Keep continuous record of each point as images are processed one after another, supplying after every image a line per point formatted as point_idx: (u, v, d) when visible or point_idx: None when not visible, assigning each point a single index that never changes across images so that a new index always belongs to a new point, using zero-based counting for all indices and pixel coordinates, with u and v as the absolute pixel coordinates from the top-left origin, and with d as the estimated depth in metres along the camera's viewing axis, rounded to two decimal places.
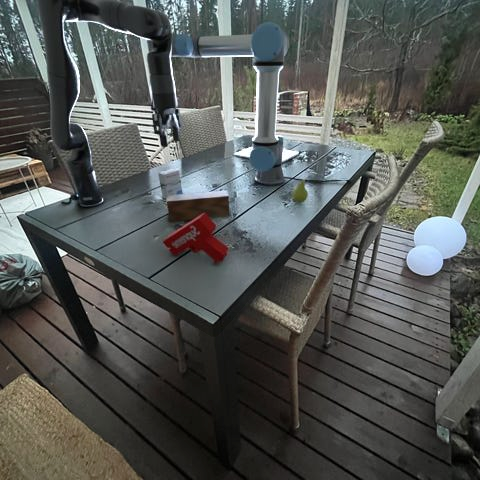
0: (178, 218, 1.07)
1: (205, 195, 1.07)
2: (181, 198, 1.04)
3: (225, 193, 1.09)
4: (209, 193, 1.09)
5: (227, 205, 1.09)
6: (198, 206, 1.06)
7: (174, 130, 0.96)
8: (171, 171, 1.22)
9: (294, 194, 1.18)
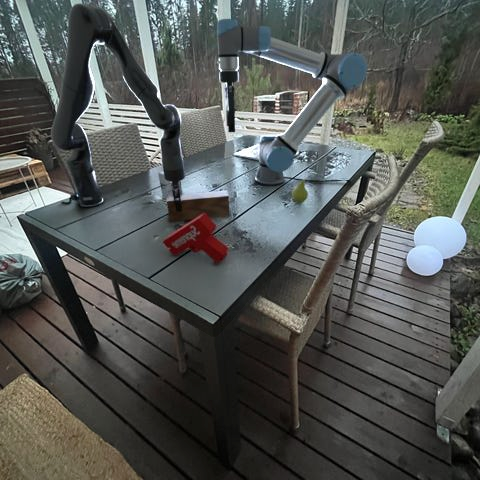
0: (178, 218, 1.07)
1: (205, 195, 1.07)
2: (181, 198, 1.04)
3: (225, 193, 1.09)
4: (209, 193, 1.09)
5: (227, 205, 1.09)
6: (198, 206, 1.06)
7: None
8: None
9: (294, 194, 1.18)
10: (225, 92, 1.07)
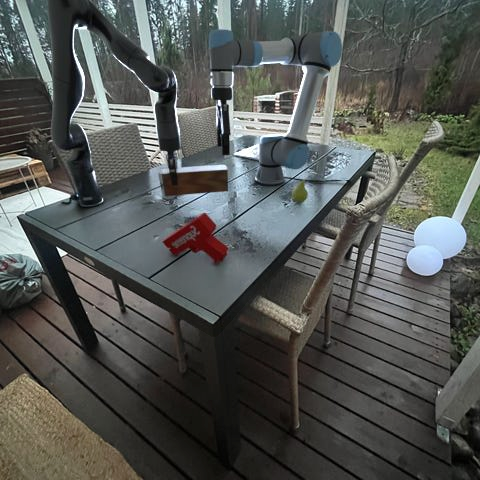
0: (174, 193, 1.01)
1: (202, 168, 1.01)
2: (177, 171, 0.99)
3: (224, 167, 1.03)
4: (207, 167, 1.03)
5: (226, 180, 1.03)
6: (195, 180, 1.00)
7: None
8: None
9: (294, 194, 1.18)
10: (218, 111, 0.94)
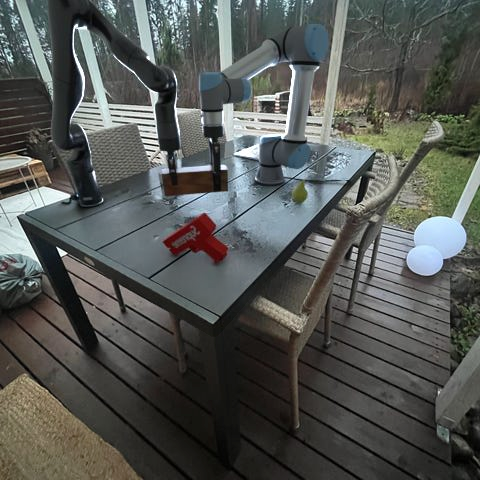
0: (174, 193, 1.01)
1: (202, 168, 1.01)
2: (177, 171, 0.98)
3: (224, 167, 1.03)
4: (207, 167, 1.03)
5: (226, 180, 1.03)
6: (195, 180, 1.00)
7: None
8: None
9: (294, 194, 1.18)
10: (210, 148, 0.96)
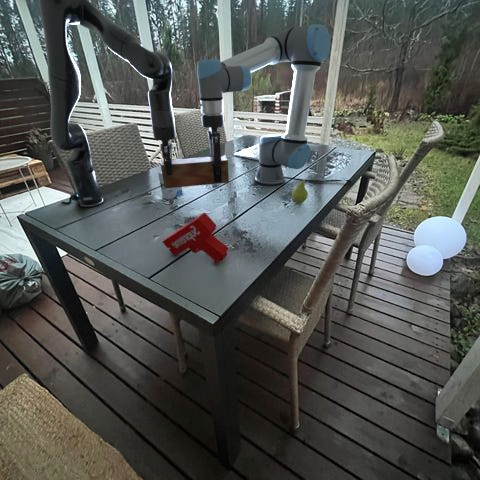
0: (174, 185, 1.00)
1: (202, 159, 1.00)
2: (177, 163, 0.97)
3: (224, 158, 1.01)
4: (207, 158, 1.01)
5: (226, 171, 1.01)
6: (195, 171, 0.99)
7: None
8: None
9: (294, 194, 1.18)
10: (209, 138, 0.95)
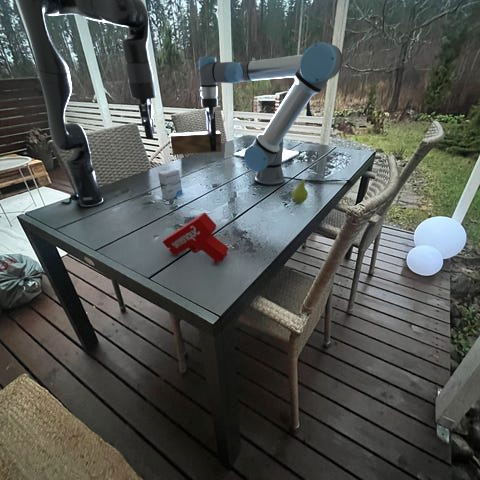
0: (179, 152, 1.31)
1: (201, 133, 1.31)
2: (182, 134, 1.28)
3: (218, 132, 1.33)
4: (204, 132, 1.32)
5: (219, 142, 1.33)
6: (196, 141, 1.30)
7: None
8: (171, 171, 1.22)
9: (294, 194, 1.18)
10: (207, 116, 1.26)
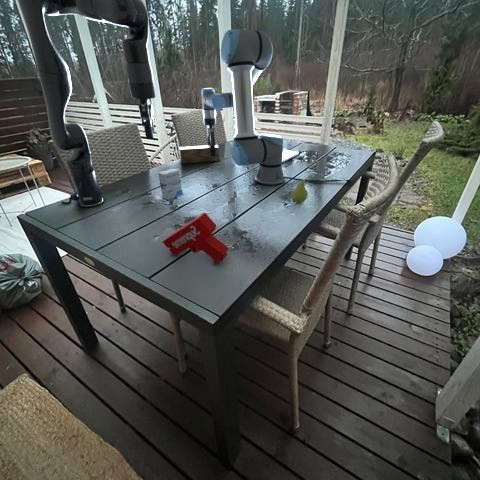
0: (187, 161, 1.71)
1: (203, 147, 1.71)
2: (189, 148, 1.68)
3: (216, 146, 1.73)
4: (206, 146, 1.73)
5: (217, 153, 1.73)
6: (199, 153, 1.70)
7: None
8: (171, 171, 1.22)
9: (294, 194, 1.18)
10: (208, 131, 1.65)
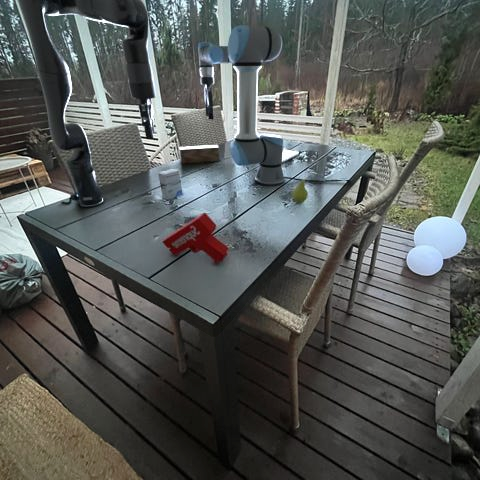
0: (187, 161, 1.71)
1: (203, 147, 1.71)
2: (189, 148, 1.68)
3: (216, 146, 1.73)
4: (206, 146, 1.73)
5: (217, 153, 1.73)
6: (199, 153, 1.70)
7: None
8: (171, 171, 1.22)
9: (294, 194, 1.18)
10: (205, 91, 1.53)
